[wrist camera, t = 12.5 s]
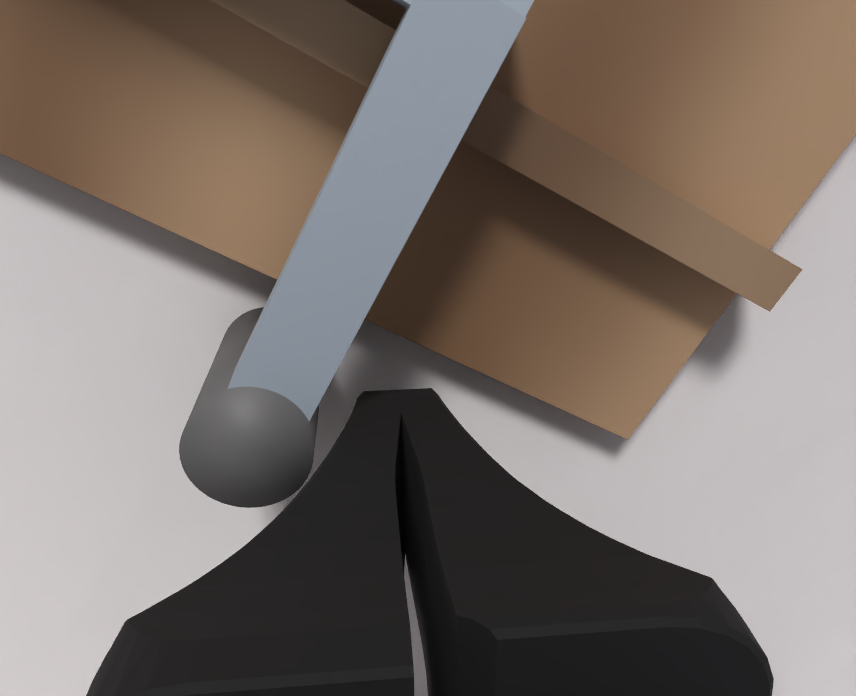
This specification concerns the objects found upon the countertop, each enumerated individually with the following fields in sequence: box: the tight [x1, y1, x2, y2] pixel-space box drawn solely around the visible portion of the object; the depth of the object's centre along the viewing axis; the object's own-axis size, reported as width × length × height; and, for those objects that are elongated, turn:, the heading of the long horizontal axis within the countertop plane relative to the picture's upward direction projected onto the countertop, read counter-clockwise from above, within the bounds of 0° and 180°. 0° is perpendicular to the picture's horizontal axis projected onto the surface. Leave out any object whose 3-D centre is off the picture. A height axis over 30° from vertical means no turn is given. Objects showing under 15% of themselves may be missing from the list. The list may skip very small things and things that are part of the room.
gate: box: [179, 0, 534, 508], centre depth 9 cm, size 9×8×3 cm
